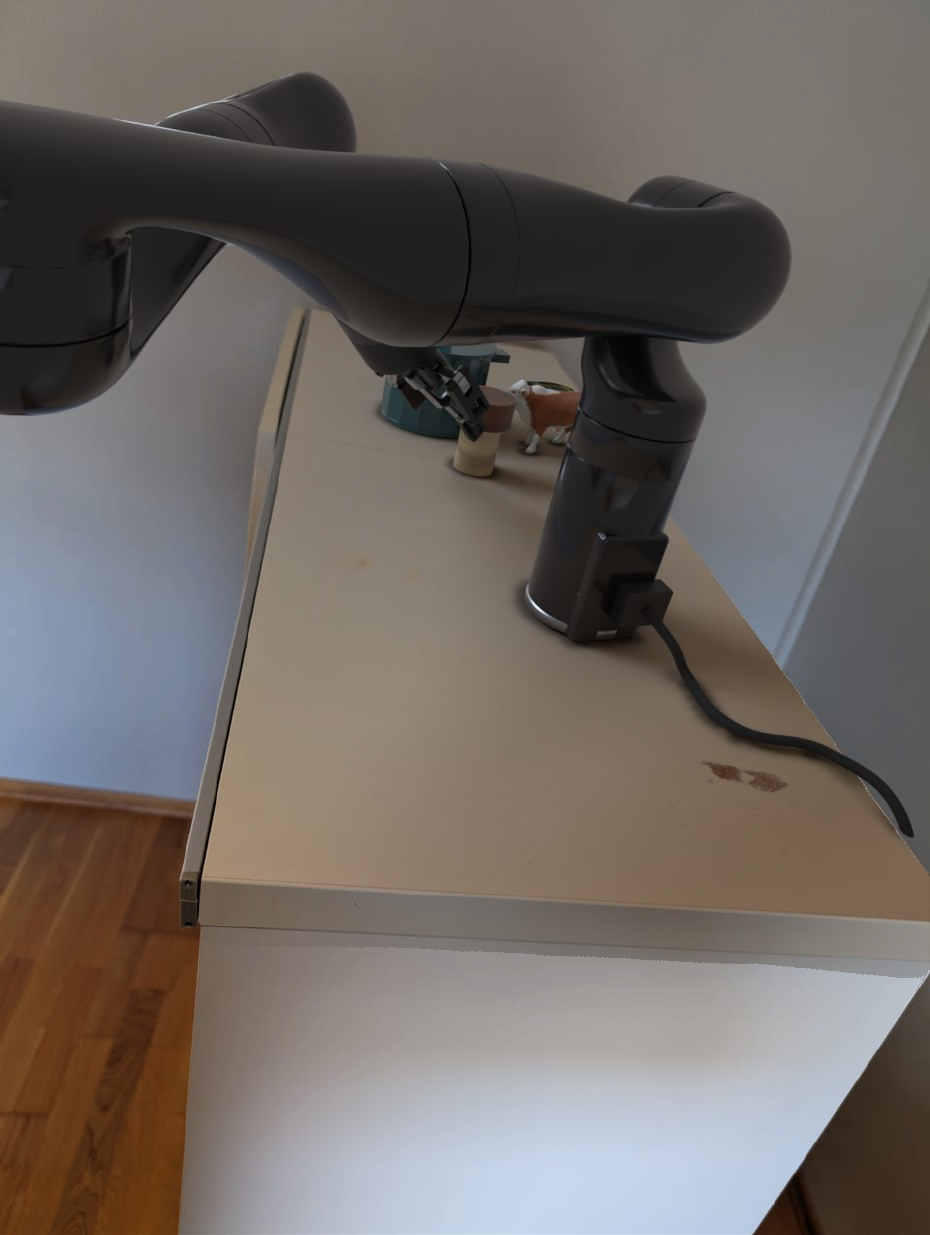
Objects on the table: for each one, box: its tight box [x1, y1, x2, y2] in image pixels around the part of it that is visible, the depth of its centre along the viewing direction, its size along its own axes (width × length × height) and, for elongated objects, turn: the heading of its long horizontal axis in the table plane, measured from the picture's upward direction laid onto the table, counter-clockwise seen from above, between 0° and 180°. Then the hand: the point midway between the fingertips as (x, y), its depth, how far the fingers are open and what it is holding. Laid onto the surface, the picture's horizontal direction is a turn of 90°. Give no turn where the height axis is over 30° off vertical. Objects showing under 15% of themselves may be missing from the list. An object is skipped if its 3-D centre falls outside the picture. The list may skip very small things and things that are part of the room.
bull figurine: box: [505, 378, 581, 455], centre depth 102 cm, size 4×13×8 cm, turn 115°
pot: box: [380, 348, 511, 439], centre depth 103 cm, size 12×17×10 cm
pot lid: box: [437, 343, 498, 360], centre depth 99 cm, size 13×13×5 cm
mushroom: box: [453, 385, 516, 478], centre depth 93 cm, size 6×6×8 cm
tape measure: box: [525, 380, 575, 392], centre depth 115 cm, size 7×7×4 cm
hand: (448, 418), depth 88 cm, fingers open, 8 cm apart
